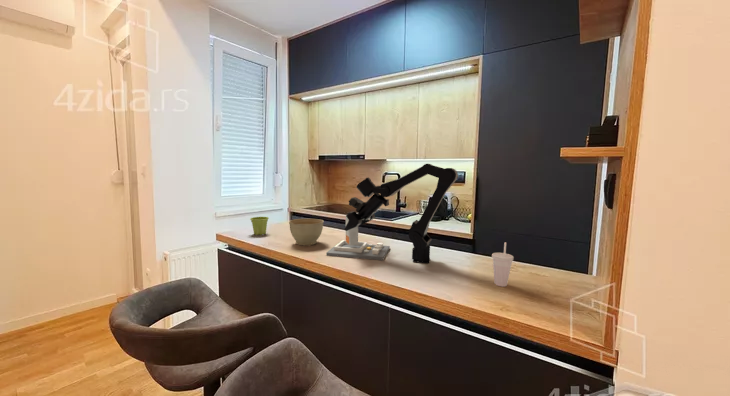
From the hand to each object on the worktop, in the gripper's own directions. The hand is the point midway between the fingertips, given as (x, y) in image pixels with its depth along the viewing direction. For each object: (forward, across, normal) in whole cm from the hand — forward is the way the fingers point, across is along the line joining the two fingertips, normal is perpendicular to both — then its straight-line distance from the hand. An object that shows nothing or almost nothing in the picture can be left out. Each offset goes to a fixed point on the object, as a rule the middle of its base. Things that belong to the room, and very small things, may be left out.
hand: (349, 228), depth 132 cm
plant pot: (+47, -6, -34) cm, 58 cm away
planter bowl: (+24, -1, -10) cm, 26 cm away
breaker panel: (+3, 0, +11) cm, 11 cm away
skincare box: (+4, 0, +6) cm, 7 cm away
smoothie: (-36, +13, +51) cm, 64 cm away
